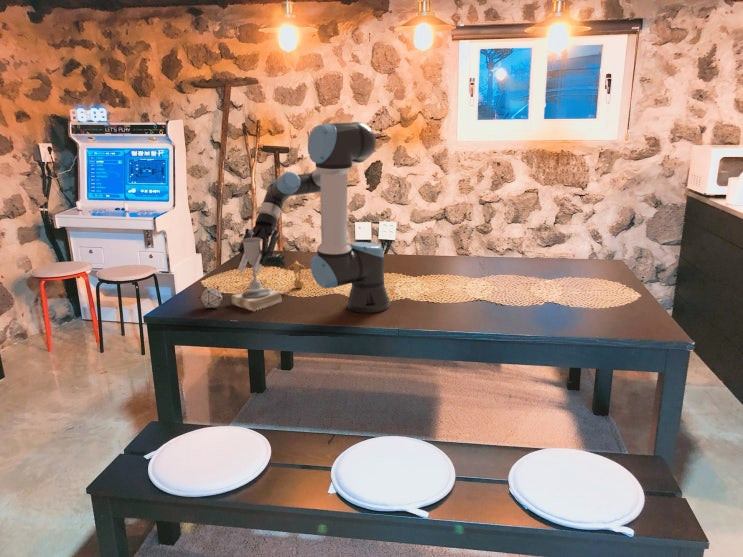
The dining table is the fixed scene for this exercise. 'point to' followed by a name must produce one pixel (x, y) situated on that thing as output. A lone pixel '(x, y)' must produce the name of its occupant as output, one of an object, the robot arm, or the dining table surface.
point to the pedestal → (256, 298)
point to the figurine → (298, 282)
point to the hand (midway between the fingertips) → (248, 270)
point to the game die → (211, 297)
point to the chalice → (252, 257)
